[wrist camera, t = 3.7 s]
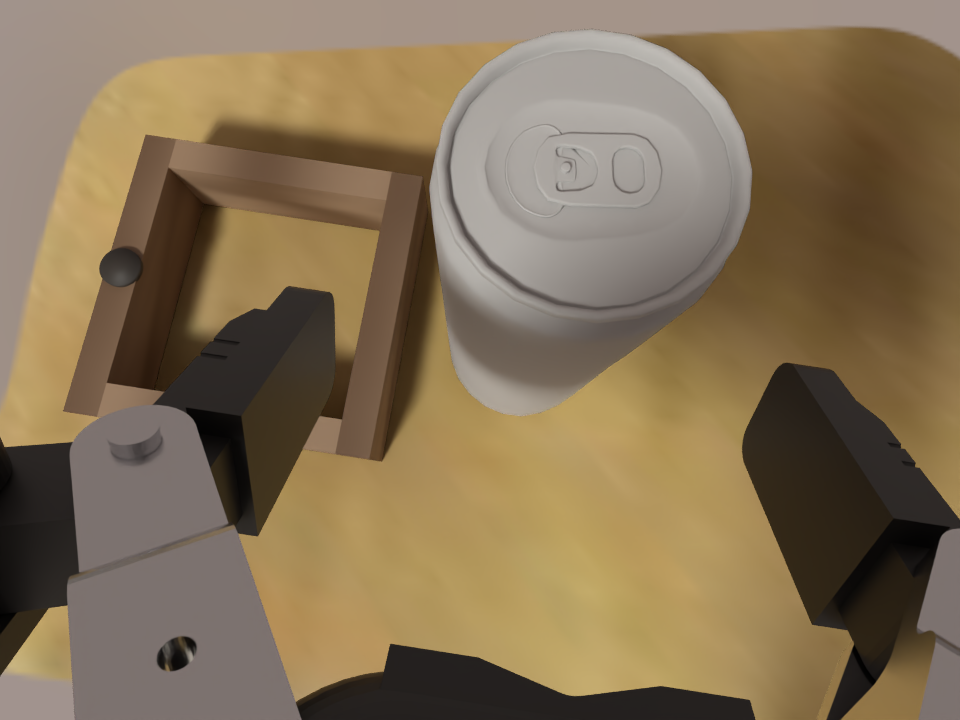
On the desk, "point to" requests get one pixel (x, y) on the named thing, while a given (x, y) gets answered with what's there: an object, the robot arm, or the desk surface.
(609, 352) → the beverage can
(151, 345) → the collar
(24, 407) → the desk surface
